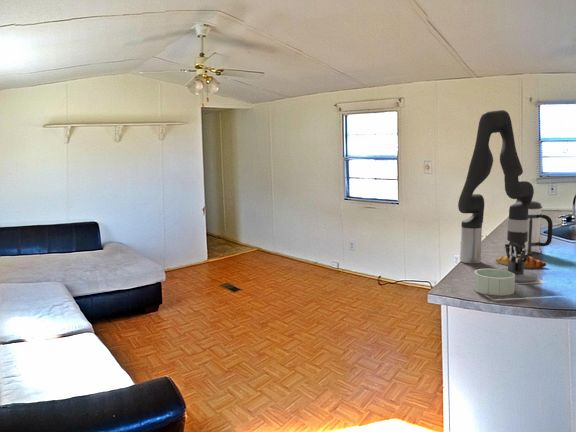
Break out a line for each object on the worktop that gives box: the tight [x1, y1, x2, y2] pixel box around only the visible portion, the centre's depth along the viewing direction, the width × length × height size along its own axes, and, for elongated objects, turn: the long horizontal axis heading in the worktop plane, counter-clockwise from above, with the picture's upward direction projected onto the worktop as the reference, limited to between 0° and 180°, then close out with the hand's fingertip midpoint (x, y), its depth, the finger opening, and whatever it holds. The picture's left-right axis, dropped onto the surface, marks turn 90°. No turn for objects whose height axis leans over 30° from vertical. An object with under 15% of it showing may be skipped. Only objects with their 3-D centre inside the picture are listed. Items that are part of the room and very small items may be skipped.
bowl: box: [473, 268, 516, 296], centre depth 166 cm, size 14×14×7 cm
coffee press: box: [525, 200, 553, 257], centre depth 225 cm, size 17×16×30 cm
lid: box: [500, 261, 538, 282], centre depth 181 cm, size 16×16×6 cm
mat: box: [515, 278, 547, 285], centre depth 181 cm, size 16×16×1 cm
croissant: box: [494, 254, 547, 269], centre depth 201 cm, size 21×10×8 cm
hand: (515, 270), depth 181 cm, fingers closed on lid, 3 cm apart
